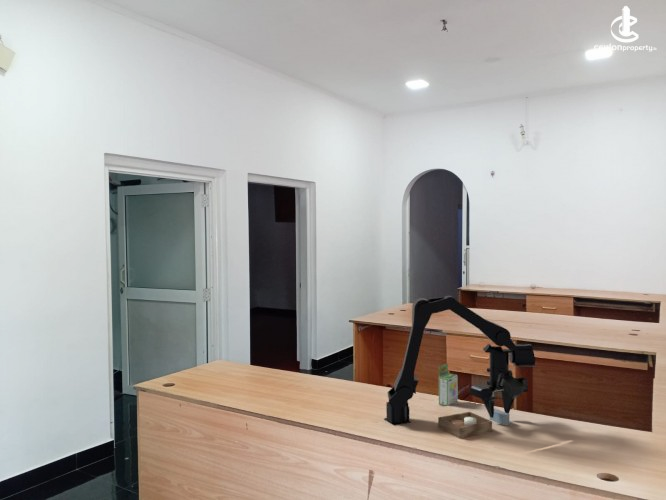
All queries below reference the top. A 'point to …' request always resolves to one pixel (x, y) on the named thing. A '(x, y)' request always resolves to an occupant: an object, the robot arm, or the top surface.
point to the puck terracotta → (458, 423)
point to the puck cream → (469, 421)
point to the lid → (500, 417)
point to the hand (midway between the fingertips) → (499, 415)
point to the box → (464, 431)
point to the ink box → (447, 387)
